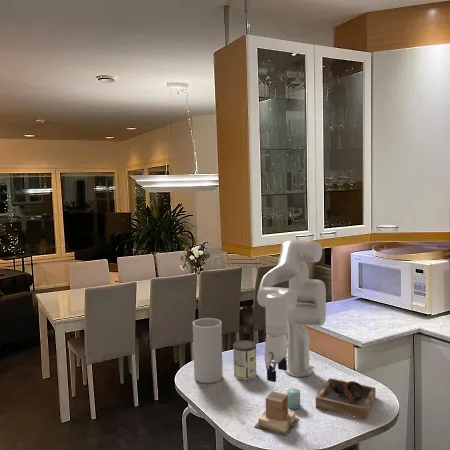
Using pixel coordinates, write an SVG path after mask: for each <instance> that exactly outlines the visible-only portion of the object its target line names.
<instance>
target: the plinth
mask: <svg viewBox="0 0 450 450" xmlns="http://www.w3.org/2000/svg"><path fill="white" fill-rule="evenodd" d="M299 420H300V418H298V417H296V411H292V410H289V409H288V414H287V415H286V417H285V418H284V419H283V420H282V421H278V420H274V419H271V418H267V417H266V410H264V412H262V414H261V415H260V416H259V418H258V422H256V424H255V425H254V428H256V429H259V430H263V431H266V432H270V433H274V434H277V435H280V436H284V437H287V436H288V435H289V434H290V433H291V431H292V430H293V428H294V427H295V426H296V424H297V423H298V422H299Z"/></svg>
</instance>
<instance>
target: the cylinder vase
mask: <svg viewBox="0 0 450 450" xmlns="http://www.w3.org/2000/svg"><path fill="white" fill-rule="evenodd" d="M222 332H223V330H222V321H221V320H220V319H217V318H211V317H208V318H207V317H205V318H204V317H203V318H199V319H195V320H194V321H192V337H193V338H192V342H193V346H192V347H193V348H192V349H193V373H194V374H193V375H194V376H193V377H194V379H195V381H196V382H198V383H202V384H214V383H217V382H219V381H220V380H222V379H223V374H224V373H223V372H224V371H223V342H222V341H223V335H222V334H223V333H222Z"/></svg>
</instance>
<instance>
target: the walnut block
mask: <svg viewBox="0 0 450 450" xmlns="http://www.w3.org/2000/svg"><path fill="white" fill-rule="evenodd" d="M288 410H289V408H288V395H287V393H282V392H277V391H273V390H272V391H271V392H270V393H269V394H268V395H267V396H266V397H265V411H266V417H267V418H271V419H274V420H278V421H282V420H283V419H284V418H285V417H286V415H287V414H288Z"/></svg>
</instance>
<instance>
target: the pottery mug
mask: <svg viewBox="0 0 450 450" xmlns="http://www.w3.org/2000/svg"><path fill="white" fill-rule="evenodd" d="M346 382H347V383H345V384H343V385H341V384H334V385H333V389H332V390H333V392H334V393H335V394H336V395H338V397H339V398H341V396H343V395H344V394H345V396H346V397H347V398H348V399H349V400H348V402H347V403H348V404H352V405H357V404H358V403H360V402H362V401H363V399H364V397H365V396H364V389H363V387H362V386H361V385H362V384H360V383H359V382H356V381H353V380H351V381H346ZM352 385H357V386H358V387H359V388H360V389H361V391H362V393H361V395H355V394H354V392H355V390H353V389H351V388H350V387H351V386H352ZM338 389H339V390H338ZM352 395H353V396H352Z"/></svg>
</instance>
